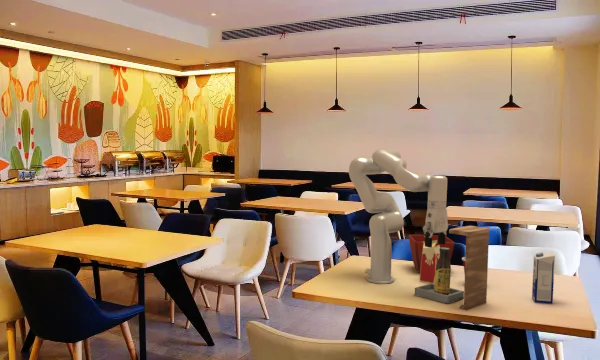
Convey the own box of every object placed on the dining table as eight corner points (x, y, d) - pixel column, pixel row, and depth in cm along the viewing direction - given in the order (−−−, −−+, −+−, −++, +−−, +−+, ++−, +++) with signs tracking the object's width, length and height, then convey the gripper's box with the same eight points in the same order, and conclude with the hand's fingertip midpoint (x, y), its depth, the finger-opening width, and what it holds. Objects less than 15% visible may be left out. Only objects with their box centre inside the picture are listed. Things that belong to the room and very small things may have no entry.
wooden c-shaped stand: (446, 305, 206) (449, 229, 204) (467, 298, 216) (469, 225, 214) (466, 310, 200) (469, 232, 198) (486, 302, 210) (489, 228, 208)
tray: (414, 294, 220) (414, 287, 219) (430, 289, 228) (431, 283, 227) (447, 303, 208) (447, 296, 207) (463, 298, 216) (463, 291, 215)
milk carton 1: (444, 281, 242) (445, 239, 241) (434, 285, 236) (436, 241, 234) (426, 278, 249) (428, 236, 247) (416, 281, 242) (418, 239, 241)
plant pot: (453, 276, 253) (455, 242, 252) (414, 275, 253) (415, 241, 252) (444, 267, 272) (445, 235, 271) (407, 266, 272) (408, 234, 271)
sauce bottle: (436, 297, 213) (438, 249, 212) (431, 293, 220) (433, 246, 218) (452, 297, 214) (454, 249, 213) (446, 293, 220) (448, 246, 219)
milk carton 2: (552, 304, 210) (555, 255, 208) (534, 302, 211) (536, 254, 210) (549, 299, 216) (551, 251, 215) (531, 297, 218) (533, 250, 217)
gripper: (432, 207, 208) (430, 249, 210) (456, 204, 220) (454, 244, 221) (417, 205, 214) (415, 246, 215) (440, 202, 225) (438, 241, 227)
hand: (435, 245), depth 218 cm, fingers open, 9 cm apart
